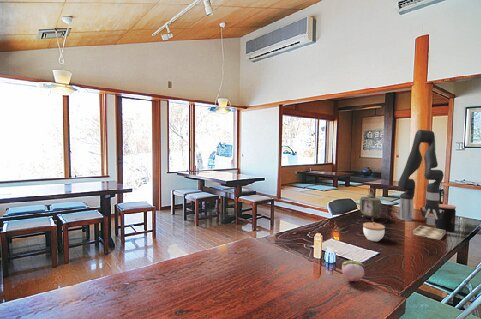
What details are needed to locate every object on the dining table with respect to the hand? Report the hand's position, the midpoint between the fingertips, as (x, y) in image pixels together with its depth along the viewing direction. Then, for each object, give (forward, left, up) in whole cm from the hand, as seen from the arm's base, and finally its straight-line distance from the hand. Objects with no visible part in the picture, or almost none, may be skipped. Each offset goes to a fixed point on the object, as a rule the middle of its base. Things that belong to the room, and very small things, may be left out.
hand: (431, 223), depth 187 cm
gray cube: (0, 0, -1) cm, 1 cm away
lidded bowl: (-23, -41, -7) cm, 48 cm away
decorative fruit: (-9, -104, -7) cm, 105 cm away
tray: (0, -4, -7) cm, 8 cm away
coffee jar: (+5, +15, -7) cm, 17 cm away
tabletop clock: (-43, +7, -7) cm, 44 cm away
